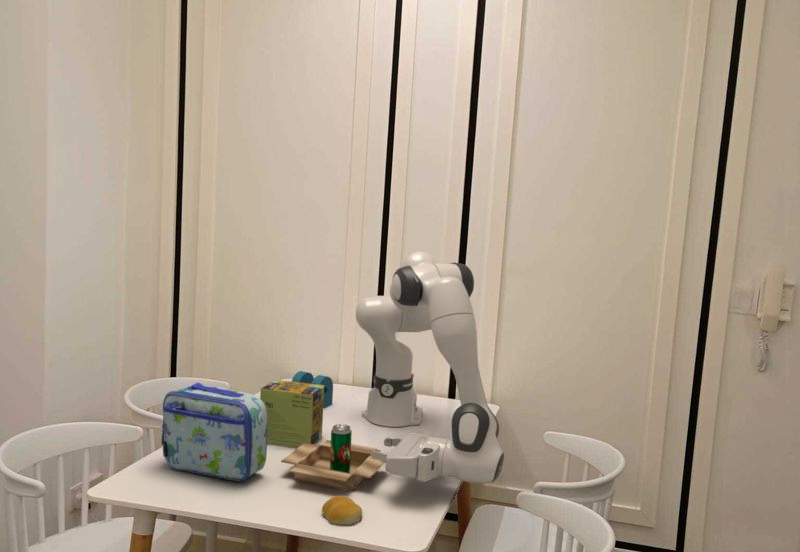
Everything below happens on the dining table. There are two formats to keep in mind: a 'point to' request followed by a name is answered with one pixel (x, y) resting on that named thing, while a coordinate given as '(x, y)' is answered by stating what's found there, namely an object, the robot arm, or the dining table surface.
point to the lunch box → (214, 432)
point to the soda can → (340, 448)
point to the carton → (316, 465)
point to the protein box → (293, 412)
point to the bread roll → (342, 510)
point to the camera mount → (318, 380)
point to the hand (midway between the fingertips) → (378, 447)
